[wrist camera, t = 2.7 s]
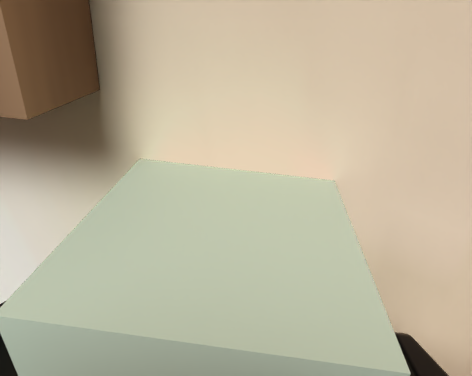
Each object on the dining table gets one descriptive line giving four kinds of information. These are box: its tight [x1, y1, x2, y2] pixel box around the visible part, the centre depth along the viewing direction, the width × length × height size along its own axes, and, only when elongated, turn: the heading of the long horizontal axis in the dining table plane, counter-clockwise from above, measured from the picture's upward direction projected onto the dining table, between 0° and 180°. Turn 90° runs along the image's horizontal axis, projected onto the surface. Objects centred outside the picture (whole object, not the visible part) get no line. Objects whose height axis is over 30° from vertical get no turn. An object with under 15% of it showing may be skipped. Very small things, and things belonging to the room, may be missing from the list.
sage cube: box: [0, 159, 411, 376], centre depth 9 cm, size 6×6×6 cm
